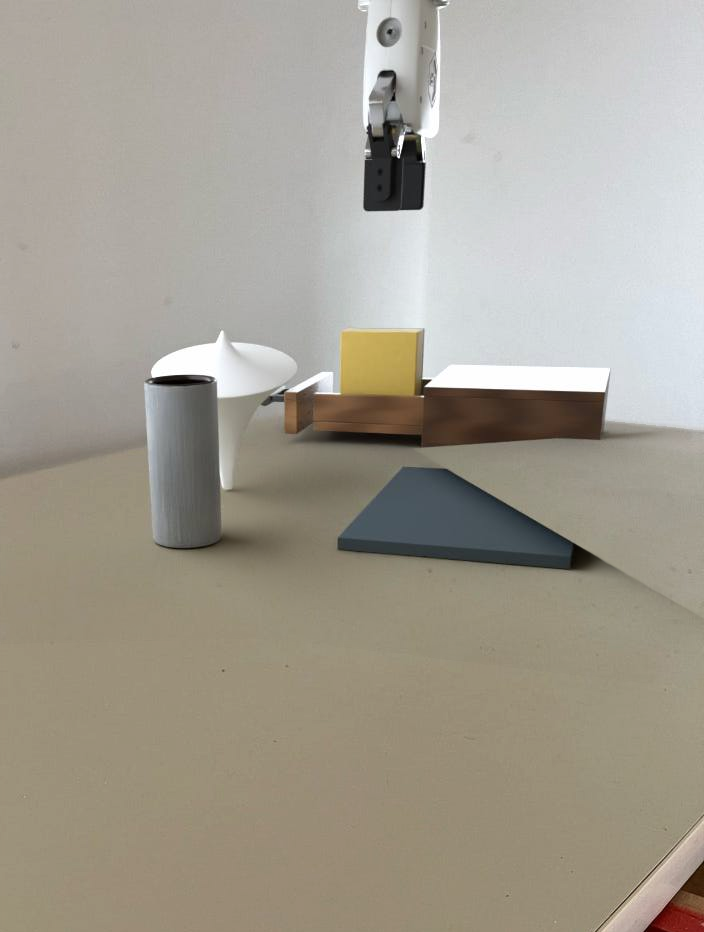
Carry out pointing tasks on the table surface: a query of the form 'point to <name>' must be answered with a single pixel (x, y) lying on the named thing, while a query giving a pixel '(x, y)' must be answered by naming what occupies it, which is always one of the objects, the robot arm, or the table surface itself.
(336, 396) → the drawer
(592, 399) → the cabinet
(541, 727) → the table surface
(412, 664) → the table surface
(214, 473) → the planter
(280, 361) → the white spinning top
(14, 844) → the table surface
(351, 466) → the table surface
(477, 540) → the mat
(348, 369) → the sponge
